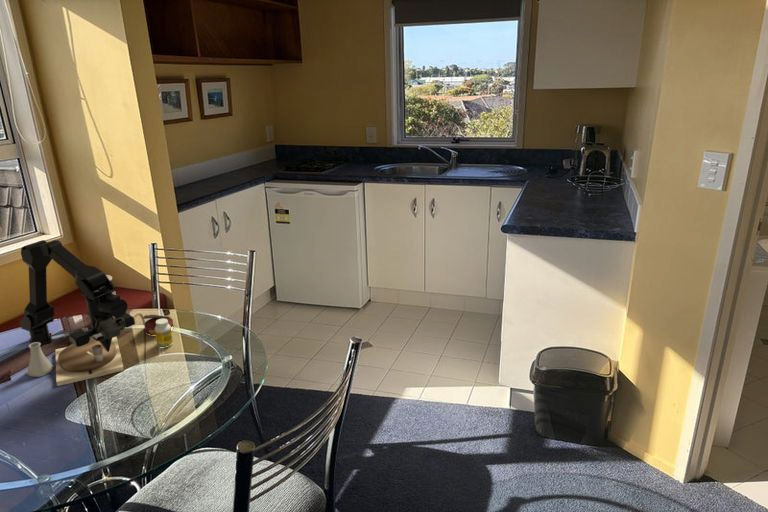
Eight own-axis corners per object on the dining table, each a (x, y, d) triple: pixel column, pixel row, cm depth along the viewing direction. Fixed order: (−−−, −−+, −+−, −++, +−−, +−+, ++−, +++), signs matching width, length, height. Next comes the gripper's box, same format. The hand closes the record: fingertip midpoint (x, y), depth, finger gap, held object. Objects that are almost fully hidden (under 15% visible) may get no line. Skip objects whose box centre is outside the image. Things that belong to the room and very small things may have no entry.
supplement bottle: (165, 339, 199) (161, 315, 195) (176, 343, 197) (173, 319, 193) (153, 346, 194) (150, 322, 190) (165, 350, 192) (161, 326, 188)
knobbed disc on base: (49, 358, 182) (45, 340, 179) (100, 338, 195) (97, 320, 192) (75, 378, 172) (71, 359, 170) (127, 355, 185) (123, 337, 182)
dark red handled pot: (146, 343, 205) (132, 320, 203) (168, 329, 212) (155, 307, 210) (160, 339, 197) (147, 315, 195) (183, 325, 205) (170, 302, 203)
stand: (56, 353, 188) (55, 348, 188) (117, 340, 197) (116, 335, 196) (57, 386, 171) (56, 381, 171) (123, 370, 180) (123, 365, 180)
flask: (42, 379, 175) (35, 352, 171) (22, 376, 176) (15, 349, 172) (58, 366, 181) (52, 340, 177) (39, 363, 182) (33, 337, 179)
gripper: (79, 329, 163) (89, 373, 169) (139, 306, 176) (147, 348, 182) (63, 317, 169) (74, 360, 176) (122, 296, 182) (130, 336, 189)
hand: (107, 351), depth 180 cm, fingers closed
